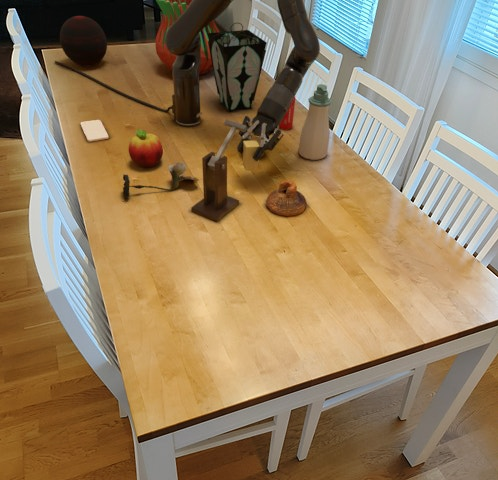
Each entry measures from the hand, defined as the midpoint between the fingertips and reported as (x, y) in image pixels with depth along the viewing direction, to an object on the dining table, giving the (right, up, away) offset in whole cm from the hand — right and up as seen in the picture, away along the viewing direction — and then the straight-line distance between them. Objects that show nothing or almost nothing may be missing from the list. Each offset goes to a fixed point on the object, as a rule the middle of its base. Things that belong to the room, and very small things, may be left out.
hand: (247, 155), depth 134 cm
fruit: (-33, +2, +15) cm, 36 cm away
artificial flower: (-26, -9, +4) cm, 28 cm away
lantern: (-5, +35, +51) cm, 62 cm away
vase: (-27, +62, +78) cm, 104 cm away
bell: (+11, -15, 0) cm, 19 cm away
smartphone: (-55, +17, +30) cm, 65 cm away
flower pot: (+2, +7, +22) cm, 23 cm away
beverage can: (+14, +22, +38) cm, 46 cm away
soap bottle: (+22, +7, +24) cm, 33 cm away
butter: (+1, -2, +4) cm, 5 cm away
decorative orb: (-74, +65, +79) cm, 127 cm away
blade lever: (-6, -1, -10) cm, 12 cm away
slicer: (-9, -16, -2) cm, 18 cm away
